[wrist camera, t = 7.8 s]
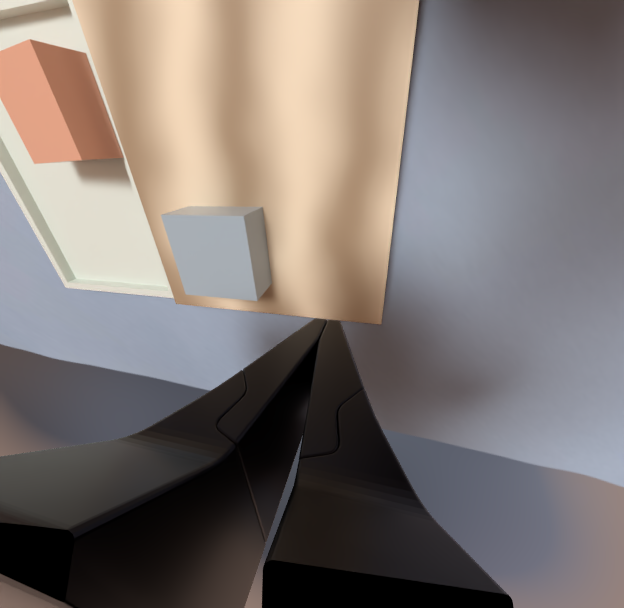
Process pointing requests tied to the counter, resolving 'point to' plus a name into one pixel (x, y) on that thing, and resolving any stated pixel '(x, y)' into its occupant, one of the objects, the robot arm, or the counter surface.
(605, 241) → the counter surface
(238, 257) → the grey box
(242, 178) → the birch board
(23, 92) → the terracotta block
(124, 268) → the tray
